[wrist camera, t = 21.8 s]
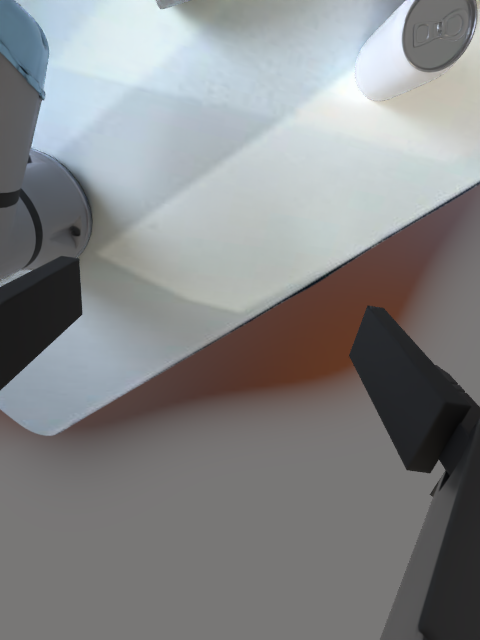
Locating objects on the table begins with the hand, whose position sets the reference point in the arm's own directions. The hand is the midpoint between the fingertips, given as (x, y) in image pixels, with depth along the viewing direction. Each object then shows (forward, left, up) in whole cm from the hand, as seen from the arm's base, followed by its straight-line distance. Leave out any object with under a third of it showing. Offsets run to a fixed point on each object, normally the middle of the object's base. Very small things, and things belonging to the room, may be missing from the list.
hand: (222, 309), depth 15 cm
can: (+21, +7, -32) cm, 39 cm away
